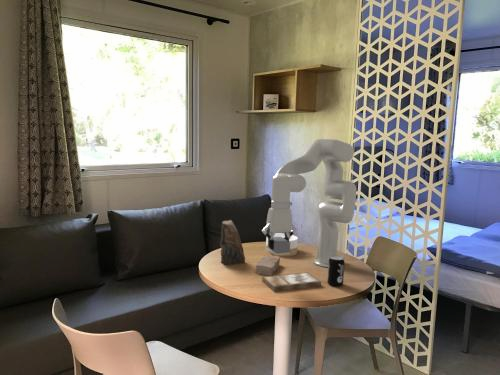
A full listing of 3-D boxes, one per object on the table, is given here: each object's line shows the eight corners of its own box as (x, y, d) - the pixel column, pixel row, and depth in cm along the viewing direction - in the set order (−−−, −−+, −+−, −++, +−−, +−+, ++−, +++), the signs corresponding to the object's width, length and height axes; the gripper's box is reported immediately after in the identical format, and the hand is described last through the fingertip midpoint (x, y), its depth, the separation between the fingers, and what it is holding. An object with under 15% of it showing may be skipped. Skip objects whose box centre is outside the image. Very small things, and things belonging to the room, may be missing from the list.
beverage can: (333, 288, 165) (335, 260, 163) (324, 282, 170) (325, 255, 169) (346, 286, 167) (347, 259, 166) (336, 280, 173) (338, 254, 172)
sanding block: (280, 248, 169) (280, 236, 168) (289, 254, 161) (290, 242, 160) (267, 249, 167) (267, 237, 166) (276, 255, 158) (276, 243, 158)
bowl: (281, 245, 228) (282, 231, 227) (303, 253, 215) (304, 238, 213) (259, 250, 217) (260, 235, 216) (281, 258, 204) (281, 242, 203)
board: (307, 276, 177) (307, 271, 177) (321, 286, 166) (321, 281, 166) (262, 281, 169) (262, 276, 169) (273, 291, 158) (273, 286, 158)
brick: (272, 276, 177) (272, 266, 176) (254, 274, 179) (254, 264, 179) (280, 265, 193) (280, 256, 192) (263, 263, 195) (263, 254, 194)
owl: (224, 266, 187) (225, 225, 185) (211, 259, 198) (212, 220, 195) (246, 262, 194) (247, 223, 192) (233, 255, 205) (234, 218, 202)
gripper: (294, 203, 168) (292, 244, 170) (257, 204, 162) (256, 247, 164) (303, 206, 161) (301, 249, 163) (264, 207, 155) (262, 252, 157)
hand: (278, 247), depth 163 cm, fingers closed on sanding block, 6 cm apart
